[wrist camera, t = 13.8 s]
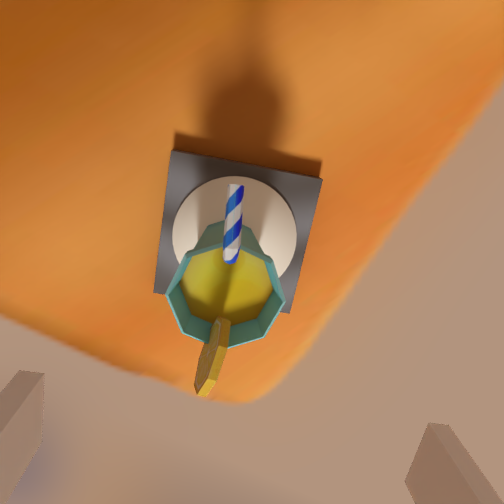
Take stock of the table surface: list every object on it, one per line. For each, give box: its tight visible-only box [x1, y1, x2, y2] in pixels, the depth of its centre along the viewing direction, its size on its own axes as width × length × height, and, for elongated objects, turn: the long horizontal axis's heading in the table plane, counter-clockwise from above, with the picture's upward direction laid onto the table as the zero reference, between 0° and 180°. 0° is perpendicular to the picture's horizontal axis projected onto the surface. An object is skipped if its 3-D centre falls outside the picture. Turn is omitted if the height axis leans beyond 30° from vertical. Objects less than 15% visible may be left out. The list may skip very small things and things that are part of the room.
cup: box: [165, 184, 286, 397], centre depth 28 cm, size 14×8×15 cm, turn 175°
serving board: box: [153, 149, 323, 314], centre depth 36 cm, size 13×13×2 cm
